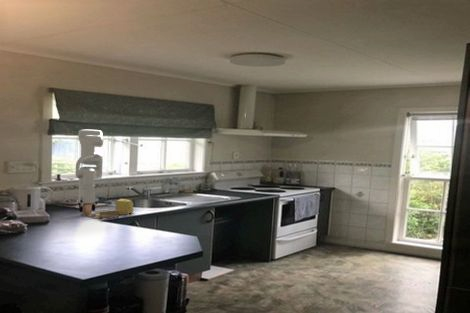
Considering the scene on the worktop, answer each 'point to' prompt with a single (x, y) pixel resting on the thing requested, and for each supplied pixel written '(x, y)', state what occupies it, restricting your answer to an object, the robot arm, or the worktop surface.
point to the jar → (87, 208)
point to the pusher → (101, 211)
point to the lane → (104, 214)
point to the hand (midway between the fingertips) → (87, 211)
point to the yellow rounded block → (124, 206)
